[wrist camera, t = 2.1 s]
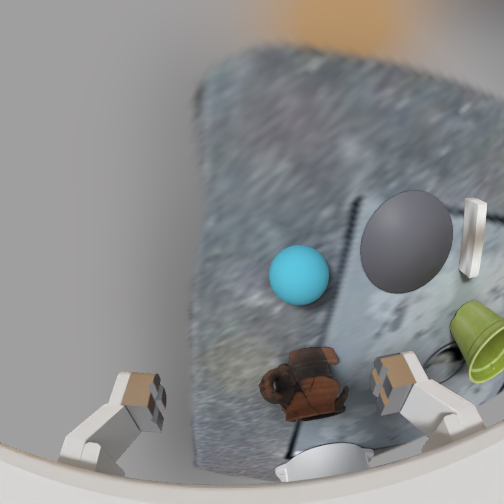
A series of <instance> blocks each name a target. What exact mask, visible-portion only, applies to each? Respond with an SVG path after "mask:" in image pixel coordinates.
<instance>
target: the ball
mask: <svg viewBox="0 0 504 504" xmlns="http://www.w3.org/2000/svg"><path fill="white" fill-rule="evenodd" d="M269 280H270V284H271V287H272V289H273V291H274V292H275V294H276V295H277V296H278V297H279V298H280V299H281V300H283V301H285V302H286V303H289V304H292V305H306V304H309V303H311V302H314V301H315V300H317V299H318V298H319V297H320V296H321V295H322V294H323V293H324V291H325V289H326V287H327V285H328V281H329V268H328V265H327V263H326V260H325V259H324V257H323V256H322V255H321V254H320V253H319V252H318V251H317V250H315V249H313V248H311V247H308V246H304V245H294V246H290V247H287V248H285V249H284V250H282V251H281V252H280V253H278V255H277V256H276V257H275V258H274V260H273V262H272V264H271V267H270V271H269Z"/></svg>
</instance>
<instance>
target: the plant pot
mask: <svg viewBox="0 0 504 504" xmlns="http://www.w3.org/2000/svg"><path fill="white" fill-rule="evenodd" d="M450 331H451V334H452V335H453V337H454V339H455V341H456V343H457V345H458V347H459V349H460V351H461V353H462V355H463V357H464V359H465V361H466V363H467V368H468V376H469V379H470V380H471V381H472V382H473V383H483V382H486V381H488V380H490V379H492V378H494V377H495V376H496V375H498V374H499V373H500V372H501V371H502V370H504V319H503V318H502V317H500V316H499V315H498V314H496V313H495V312H493V311H492V310H490V309H489V308H487V307H486V306H485V305H483V304H482V303H480V302H478V301H470V302H468V303H466V304H464V305H463V306H462V307H461V308H460V309H459V310H458V311H457V313H456V316H455V317H454V319H453V320H452V321H451V325H450Z"/></svg>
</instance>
